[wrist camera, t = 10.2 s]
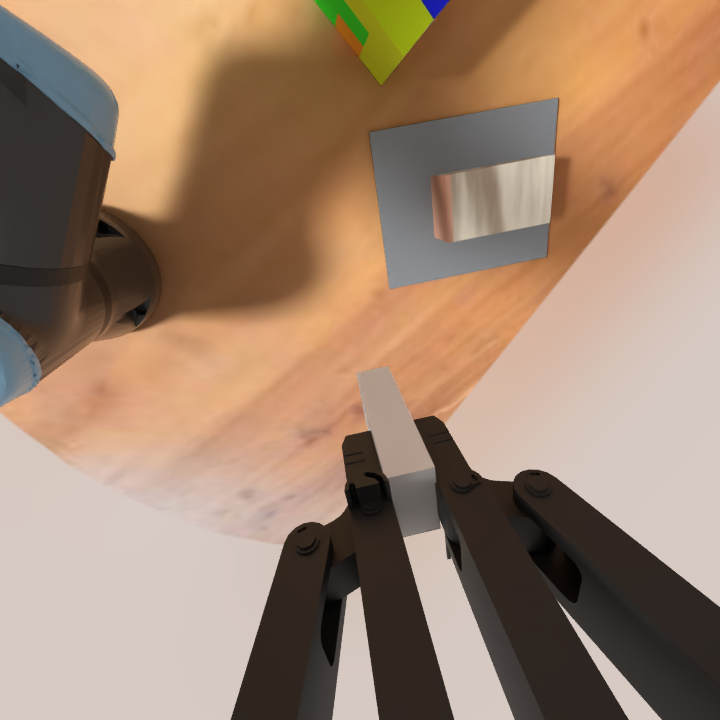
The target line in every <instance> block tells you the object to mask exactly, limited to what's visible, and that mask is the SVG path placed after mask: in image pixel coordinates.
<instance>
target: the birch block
mask: <svg viewBox="0 0 720 720" xmlns="http://www.w3.org/2000/svg"><path fill="white" fill-rule="evenodd" d="M554 164H555V155H547V156H539V157H530V158H525V159H519V160H514V161H509V162H504V163H498V164H493V165H488V166H483V167H477V168H472V169H467V170H462V171H456V172H451V173H446V174H440V175H435V176H430V178H431V193H432V208H433V222H434V237H435V238H438V239H440V240H442V241H445V242H447V243H451V242H456V241H461V240H466V239H471V238H476V237H481V236H486V235H491V234H496V233H501V232H506V231H511V230H516V229H521V228H526V227H531V226H536V225H541V224H546V223H550V217H551V203H552V190H553V177H554Z"/></svg>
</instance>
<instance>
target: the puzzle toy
mask: <svg viewBox="0 0 720 720" xmlns="http://www.w3.org/2000/svg"><path fill="white" fill-rule="evenodd" d="M314 1H315V2H316V3H317V5H318V6H319V7H320V8H321V10H322V11H323V12H324V14H325V15H326V16H327V17H328V19H329V20H330V21H331V22H332V24H333V25H334V26H335V28H336V29H337V30H338V31H339V33H340V34H341V35H342V37H343V38H344V39H345V40H346V42H347V43H348V44H349V45H350V47H351V48H352V49H353V51H354V52H355V53H356V54H357V56H358V57H359V58H360V59H361V61H362V62H363V63H364V65H365V66H366V67H367V68H368V70H369V71H370V72H371V73H372V75H373V76H374V77H375V79H376V80H377V81H378V82H379V84H380V85H382V84H383V83H384V82H385V80H386V79H387V78H388V77H389V76H390V74H391V73H392V72H393V71H394V69H395V68H396V67H397V66H398V64H399V63H400V62H401V61H402V59H403V58H404V57H405V56H406V54H407V53H408V52H409V51H410V49H411V48H412V47H413V46H414V45H415V43H416V42H417V41H418V40H419V38H420V37H421V36H422V35H423V33H424V32H425V31H426V30H427V28H428V27H429V26H430V25H431V23H432V22H433V21H434V20H435V18H436V17H437V16H438V15H439V13H440V12H441V11H442V10H443V9H444V7H445V6H446V5H447V4H448V2H449V1H450V0H314Z"/></svg>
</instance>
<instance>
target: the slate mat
mask: <svg viewBox="0 0 720 720" xmlns="http://www.w3.org/2000/svg"><path fill="white" fill-rule="evenodd" d="M557 108H558V98H554V99H549V100H543V101H538V102H533V103H527V104H522V105H516V106H511V107H505V108H500V109H494V110H489V111H483V112H478V113H472V114H467V115H461V116H456V117H450V118H445V119H439V120H434V121H428V122H423V123H417V124H412V125H406V126H401V127H395V128H390V129H384V130H379V131H373V132H369V136H370V144H371V152H372V159H373V167H374V174H375V182H376V190H377V197H378V205H379V213H380V220H381V228H382V236H383V243H384V251H385V258H386V266H387V274H388V281H389V288H390V289H393V288H398V287H403V286H407V285H412V284H417V283H422V282H427V281H432V280H437V279H442V278H446V277H451V276H456V275H461V274H466V273H471V272H476V271H481V270H486V269H490V268H495V267H500V266H505V265H510V264H515V263H520V262H525V261H529V260H534V259H539V258H544V257H547V244H548V230H549V223H546V224H541V225H536V226H531V227H526V228H521V229H516V230H511V231H506V232H501V233H496V234H491V235H486V236H481V237H476V238H471V239H466V240H461V241H456V242H451V243H447V242H445V241H442V240H440V239H438V238H435V237H434V222H433V208H432V193H431V178H430V176H435V175H440V174H446V173H451V172H456V171H462V170H467V169H472V168H477V167H483V166H488V165H493V164H498V163H504V162H509V161H514V160H519V159H525V158H530V157H539V156H547V155H554V149H555V135H556V122H557Z"/></svg>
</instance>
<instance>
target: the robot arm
mask: <svg viewBox="0 0 720 720" xmlns="http://www.w3.org/2000/svg"><path fill="white" fill-rule="evenodd" d="M118 116H119V110H118V104H117V101H116V99H115V96H114V94H113V92H112V90H111V89H110V87H109V86H108V85H107V84H106V82H105V81H104V80H103V79H102V78H101V77H100V76H99V75H98V74H97V73H95V72H94V71H93V70H92V69H91V68H89V67H88V66H87V65H86V64H84V63H83V62H81V61H80V60H79V59H77V58H76V57H75V56H73V55H72V54H71V53H69V52H68V51H67V50H65V49H64V48H62V47H61V46H60V45H58V44H57V43H55V42H54V41H52V40H51V39H50V38H48V37H47V36H45V35H44V34H43V33H41V32H40V31H38V30H37V29H35V28H34V27H32V26H31V25H29V24H28V23H26V22H25V21H23V20H22V19H20V18H19V17H17V16H16V15H15V14H13V13H12V12H10V11H9V10H7V9H6V8H4V7H2V6H1V5H0V407H1V406H3V405H5V404H7V403H8V402H10V401H12V400H14V399H15V398H17V397H19V396H21V395H23V394H26V393H28V392H30V391H31V390H32V389H33V388H35V387H36V385H37V384H38V383H39V381H41V380H42V379H43V378H45V377H46V376H47V375H49V374H50V373H51V372H53V371H54V370H55V369H57V368H58V367H59V366H61V365H62V364H63V363H65V362H66V361H67V360H69V359H70V358H71V357H72V356H74V355H75V354H76V353H78V352H79V351H80V350H82V349H83V348H84V347H86V346H87V345H88V344H90V343H91V342H94V341H100V340H107V339H113V338H117V337H120V336H123V335H125V334H128V333H130V332H132V331H133V330H135V329H136V328H138V327H139V326H140V325H141V324H143V323H144V322H145V321H146V320H147V319H148V318H149V317H150V316H151V315H152V313H153V312H154V310H155V309H156V307H157V305H158V302H159V299H160V294H161V278H160V273H159V269H158V266H157V263H156V261H155V259H154V257H153V255H152V253H151V251H150V250H149V248H148V247H147V245H146V244H145V243H144V241H143V240H142V239H141V238H140V237H139V236H138V235H137V234H136V233H135V232H134V231H133V230H132V229H131V228H130V227H128V226H127V225H126V224H124V223H123V222H122V221H120V220H119V219H117V218H115V217H114V216H112V215H110V214H108V213H105V212H103V211H101V208H102V203H103V198H104V193H105V188H106V183H107V178H108V173H109V168H110V163H111V161H114V160H115V158H116V153H115V150H114V143H115V136H116V130H117V123H118ZM356 374H357V379H358V384H359V389H360V394H361V400H362V405H363V410H364V415H365V420H366V424H367V428H368V431H366V432H362V433H357V434H353V435H348V436H346V437H345V439H344V442H343V444H342V450H343V457H344V464H345V471H346V478H347V482H346V484H345V495H346V499H347V502H348V506H347V508H346V509H345V511H344V512H343V513H342V514H341V516H340V517H338V518H337V519H335V520H334V521H332V522H330V523H329V524H327V525H325V526H323V525H322V524H320V523H316V522H309V523H304V524H302V525H300V526H298V527H296V528H295V529H294V530H293V531H292V532H291V533H290V534H289V535H288V537H287V539H286V541H285V543H284V546H283V549H282V553H281V556H280V559H279V563H278V566H277V570H276V573H275V576H274V579H273V582H272V586H271V589H270V593H269V596H268V599H267V602H266V605H265V609H264V612H263V615H262V619H261V622H260V626H259V629H258V632H257V635H256V638H255V642H254V645H253V648H252V652H251V655H250V658H249V662H248V665H247V668H246V671H245V675H244V678H243V681H242V685H241V688H240V692H239V694H238V698H237V701H236V704H235V708H234V711H233V714H232V717H231V720H332V716H333V708H334V699H335V691H336V683H337V674H338V666H339V657H340V650H341V641H342V633H343V625H344V616H345V608H346V600H347V595H348V594H349V593H351V592H353V591H354V590H356V589H357V588H359V587H361V594H362V602H363V609H364V615H365V623H366V630H367V636H368V644H369V651H370V658H371V665H372V672H373V679H374V686H375V693H376V700H377V707H378V715H379V720H454V717H453V714H452V710H451V707H450V703H449V699H448V696H447V692H446V689H445V685H444V682H443V678H442V675H441V671H440V667H439V664H438V660H437V657H436V653H435V650H434V646H433V643H432V639H431V635H430V632H429V629H428V625H427V621H426V618H425V614H424V611H423V607H422V604H421V600H420V597H419V593H418V590H417V586H416V583H415V579H414V575H413V572H412V568H411V564H410V561H409V558H408V554H407V551H406V547H405V543H404V540H403V537H407V536H411V535H415V534H419V533H424V532H428V531H432V530H436V529H440V521H441V524H442V526H443V528H444V531H445V541H446V552H447V558H448V559H451V557H452V560H453V563H454V565H455V568H456V570H457V573H458V575H459V578H460V580H461V583H462V586H463V588H464V591H465V593H466V596H467V598H468V601H469V604H470V606H471V609H472V611H473V614H474V616H475V619H476V621H477V624H478V627H479V629H480V631H481V634H482V637H483V639H484V642H485V644H486V647H487V650H488V652H489V655H490V657H491V660H492V662H493V665H494V667H495V670H496V673H497V675H498V678H499V680H500V683H501V685H502V688H503V691H504V693H505V696H506V698H507V701H508V703H509V706H510V708H511V711H512V714H513V716H514V719H515V720H629V719H628V718H627V716H626V715H625V713H624V711H623V710H622V708H621V706H620V705H619V703H618V701H617V700H616V698H615V696H614V695H613V693H612V691H611V690H610V688H609V686H608V685H607V683H606V681H605V680H604V678H603V677H602V675H601V673H600V671H599V670H598V668H597V666H596V665H595V663H594V662H593V660H592V658H591V656H590V655H589V653H588V651H587V650H586V648H585V646H584V645H583V643H582V642H581V640H580V638H579V637H578V635H577V633H576V632H575V630H574V628H573V627H572V625H571V624H570V622H569V620H568V618H567V617H566V615H565V613H564V612H563V610H562V608H561V607H560V605H559V603H560V604H561V605H562V606H563V607H564V609H565V610H566V611H567V612H568V613H569V614H570V616H571V617H572V618H573V619H574V620H575V621H576V622H577V623H578V625H579V626H580V627H581V628H582V629H583V630H584V631H585V632H586V634H587V635H588V636H589V637H590V638H591V639H592V641H593V642H594V643H595V644H596V645H597V646H598V647H599V648H600V650H601V651H602V652H603V653H604V654H605V655H606V657H607V658H608V659H609V660H610V661H611V662H612V663H613V664H614V665H615V667H616V668H617V669H618V670H619V671H620V672H621V674H622V675H623V676H624V677H625V678H626V679H627V680H628V681H629V683H630V684H631V685H632V686H633V687H634V688H635V690H636V691H637V692H638V693H639V694H640V695H641V696H642V698H643V699H644V700H645V701H646V702H647V703H648V704H649V705H650V707H651V708H652V709H653V710H654V711H655V712H656V713H657V715H658V716H659V717H660V718H661V719H662V720H720V607H719V606H718V605H716V604H715V603H714V602H712V601H711V600H710V599H709V598H708V597H706V596H705V595H704V594H702V593H701V592H700V591H699V590H697V589H696V588H695V587H693V586H692V585H691V584H690V583H689V582H687V581H686V580H685V579H684V578H682V577H681V576H680V575H678V574H677V573H676V572H675V571H673V570H672V569H671V568H670V567H668V566H667V565H666V564H664V563H663V562H662V561H661V560H659V559H658V558H657V557H656V556H654V555H653V554H652V553H651V552H649V551H648V550H647V549H646V548H644V547H643V546H642V545H641V544H639V543H638V542H637V541H635V540H634V539H633V538H632V537H630V536H629V535H628V534H626V533H625V532H624V531H623V530H622V529H620V528H619V527H618V526H616V525H615V524H614V523H613V522H611V521H610V520H609V519H607V518H606V517H605V516H604V515H603V514H601V513H600V512H599V511H597V510H596V509H595V508H594V507H592V506H591V505H590V504H589V503H587V502H586V501H585V500H584V499H582V498H581V497H580V496H579V495H577V494H576V493H575V492H573V491H572V490H571V489H570V488H568V487H567V486H566V485H565V484H563V483H562V482H561V481H559V480H558V479H557V478H556V477H554V476H552V475H551V474H549V473H547V472H544V471H540V470H525V471H522V472H520V473H519V474H517V475H516V476H515V479H514V481H513V482H510V481H493V480H488V479H485V478H482V477H481V476H480V475H479V474H478V473H477V472H475V471H473V470H471V468H470V467H469V465H468V464H467V462H466V460H465V459H464V457H463V455H462V454H461V452H460V450H459V448H458V446H457V445H456V443H455V441H454V440H453V438H452V436H451V434H450V433H449V431H448V429H447V428H446V426H445V424H444V422H442V421H441V420H439V419H438V418H437V417H435V416H429V417H425V418H420V419H416V420H413V419H412V416H411V414H410V412H409V410H408V408H407V406H406V403H405V401H404V399H403V397H402V395H401V392H400V390H399V388H398V386H397V384H396V382H395V379H394V377H393V375H392V373H391V371H390V369H389V366H386V367H381V368H376V369H372V370H367V371H362V372H358V373H356ZM557 601H558V602H559V603H558V602H557Z"/></svg>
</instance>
